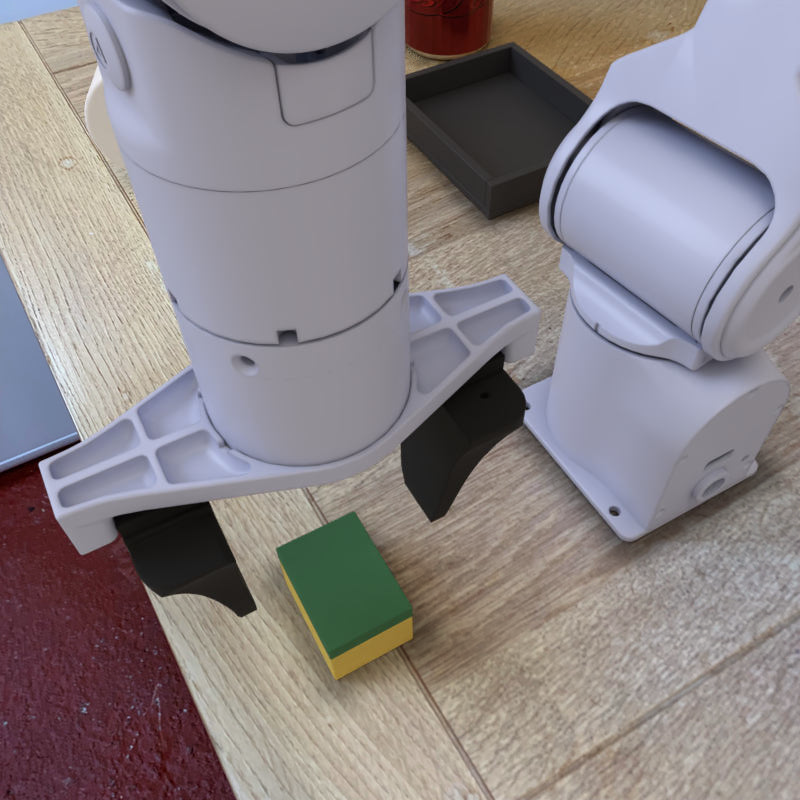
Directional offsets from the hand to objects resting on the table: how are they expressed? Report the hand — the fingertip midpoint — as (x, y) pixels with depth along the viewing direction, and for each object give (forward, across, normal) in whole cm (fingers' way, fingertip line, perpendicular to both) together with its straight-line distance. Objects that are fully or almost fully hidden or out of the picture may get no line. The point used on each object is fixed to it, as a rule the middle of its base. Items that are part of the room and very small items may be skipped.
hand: (335, 543), depth 29 cm
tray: (+6, -25, -26) cm, 37 cm away
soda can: (+6, -29, -40) cm, 50 cm away
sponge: (+6, 0, 0) cm, 6 cm away
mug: (+6, -7, -37) cm, 38 cm away
